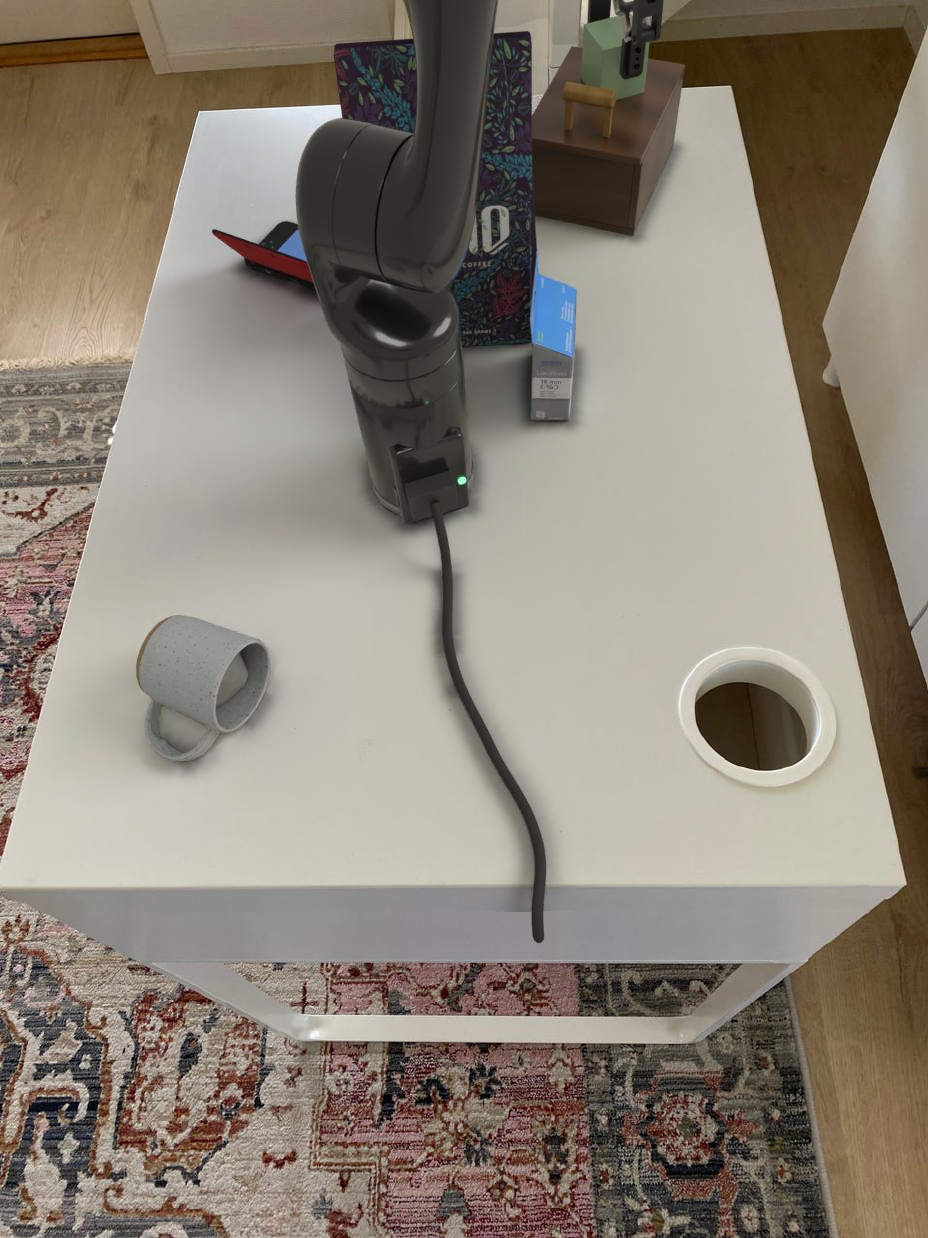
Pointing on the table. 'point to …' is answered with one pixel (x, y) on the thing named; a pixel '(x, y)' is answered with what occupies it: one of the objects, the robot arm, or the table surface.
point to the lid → (603, 112)
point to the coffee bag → (505, 218)
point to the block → (608, 58)
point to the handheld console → (274, 253)
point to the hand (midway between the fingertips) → (613, 53)
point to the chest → (602, 181)
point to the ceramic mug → (200, 678)
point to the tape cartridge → (552, 347)
